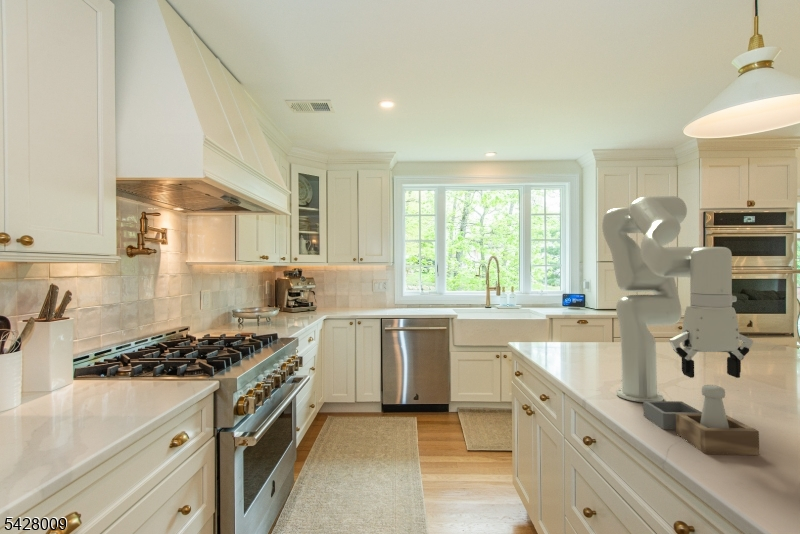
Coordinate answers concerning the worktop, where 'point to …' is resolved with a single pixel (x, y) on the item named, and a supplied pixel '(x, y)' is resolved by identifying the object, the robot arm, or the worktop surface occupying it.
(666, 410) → the grey open tray
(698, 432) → the brown wooden open box
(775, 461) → the worktop surface
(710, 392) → the salt shaker
